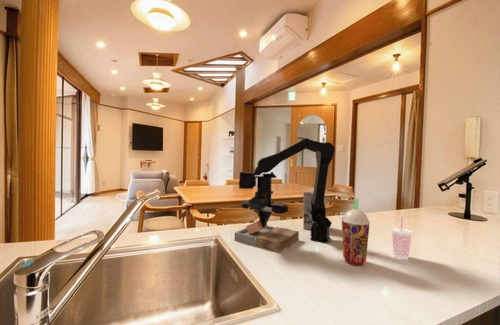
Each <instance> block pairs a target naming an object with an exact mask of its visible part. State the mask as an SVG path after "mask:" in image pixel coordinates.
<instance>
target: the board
mask: <svg viewBox="0 0 500 325" xmlns="http://www.w3.org/2000/svg"><path fill="white" fill-rule="evenodd" d="M299 232H300V231H298V230H294V229H290V228H284V227H278V226H276V227H274V229H272V230H270V231H268V232H266V233H264V234H262V235H260V236H258V237H256V246H255V247H257V248H261V249H265V250H268V251H272V252H275V253H279V254H280V253H283V251H285V250H286V249H287V248H289V247H290V246H292V245H293V244H295V243H296V242H298V241H299V239H300V238H299V236H300V233H299Z"/></svg>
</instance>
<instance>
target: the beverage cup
mask: <svg viewBox="0 0 500 325" xmlns="http://www.w3.org/2000/svg"><path fill="white" fill-rule="evenodd" d="M403 222H404V216H403V215H401V216H400V228H398V227H397V228H396V227H395V228H391V230H390V231H391V234H392V235H391V238H392V241H391V242H392V256H393V258H395V257H396V258H395V259H399V260H402V259H407V260H409V259H408V258H410V252H411V251H410V250H411V241H412V236H413V232H412V231H411V230H409V229H405V228H404V227H403V225H404V223H403Z"/></svg>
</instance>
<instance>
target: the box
mask: <svg viewBox="0 0 500 325" xmlns="http://www.w3.org/2000/svg"><path fill="white" fill-rule="evenodd" d="M267 226H268V227H266V228H264V229H262V230H260V231H257V232H254V233H252V234H249V233H248V230H247V228H246V227H244V228H242V229H240V230H238V231H235V232H234V241H236V242H239V243H243V244H246V245H250V246H253V247H257V246H256V237H258V236H260V235H262V234H264V233H266V232H268V231H270V230H272V229H274V228H275V226H270V225H267Z"/></svg>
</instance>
